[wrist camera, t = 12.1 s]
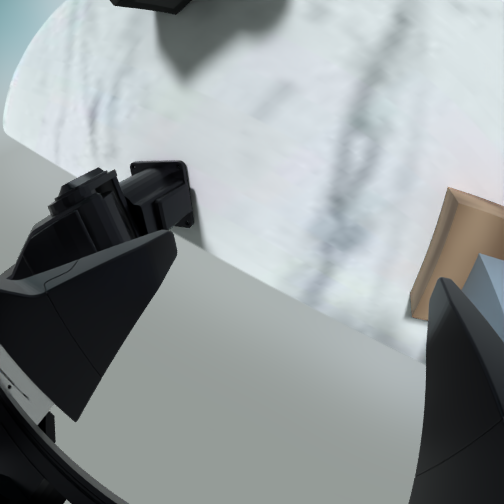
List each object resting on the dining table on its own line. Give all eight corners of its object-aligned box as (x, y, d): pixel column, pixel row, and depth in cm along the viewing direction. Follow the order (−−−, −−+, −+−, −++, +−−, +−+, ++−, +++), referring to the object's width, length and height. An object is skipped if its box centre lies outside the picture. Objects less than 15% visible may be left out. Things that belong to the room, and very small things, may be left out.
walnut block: (410, 293, 22) (411, 317, 20) (447, 186, 16) (458, 203, 14) (494, 312, 19) (500, 335, 17) (539, 221, 13) (554, 240, 11)
